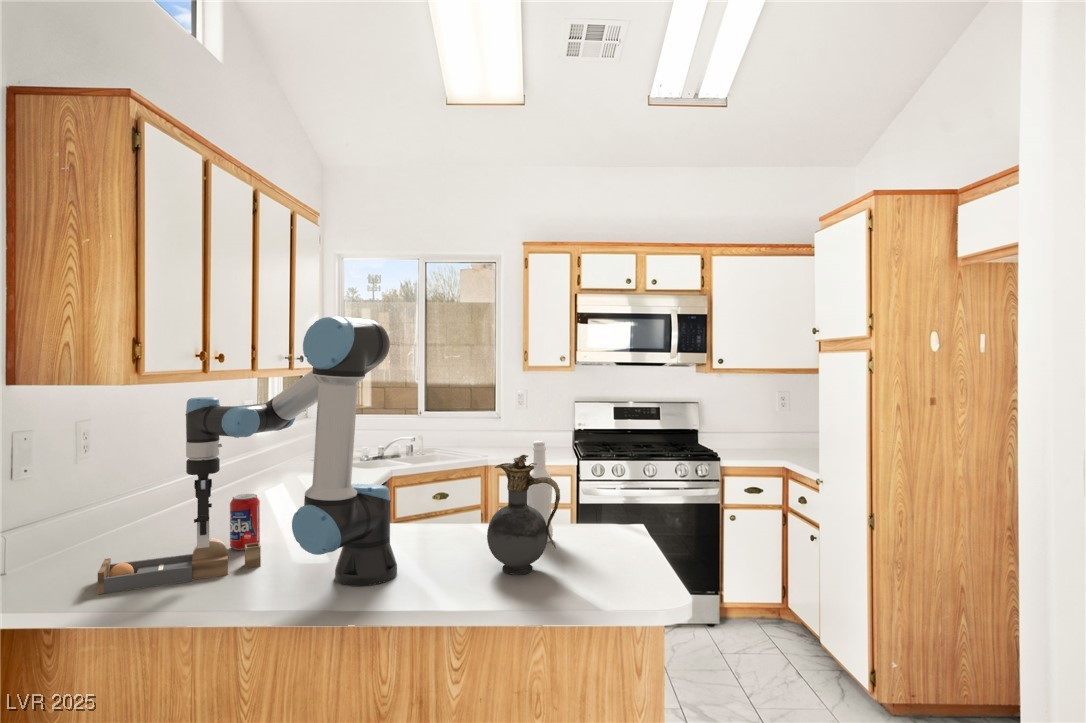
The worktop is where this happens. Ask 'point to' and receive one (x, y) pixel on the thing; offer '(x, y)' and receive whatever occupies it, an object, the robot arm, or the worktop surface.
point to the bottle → (540, 485)
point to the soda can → (244, 521)
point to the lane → (152, 573)
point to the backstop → (103, 574)
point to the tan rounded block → (210, 560)
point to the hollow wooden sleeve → (252, 555)
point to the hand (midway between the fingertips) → (203, 540)
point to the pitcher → (520, 521)
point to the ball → (121, 570)
